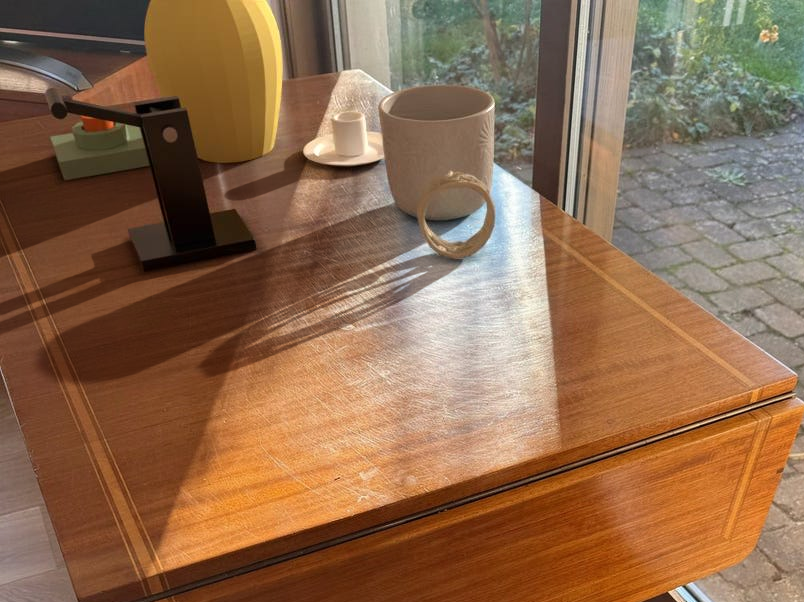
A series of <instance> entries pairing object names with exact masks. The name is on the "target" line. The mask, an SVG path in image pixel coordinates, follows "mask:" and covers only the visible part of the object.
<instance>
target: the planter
mask: <svg viewBox="0 0 804 602" xmlns="http://www.w3.org/2000/svg"><path fill="white" fill-rule="evenodd" d="M495 105H496V103H495V99H494V97H493V96H492V95H491V94H490V93H488V92H487V91H484V90H483V89H479V88H477V87H473V86H468V85H461V84H428V85H427V84H425V85H419V86H412V87H408V88H403V89H400V90H397V91H394V92H393V93H392V92H391V93H390V94H388V95H386V96H384V97H383V98H382V99H381V100H380V101H379V103H378V106H377V109H378V117H379V125H380V133H381V134H382V142H383V150H384V158H383V159H384V165H385V171H386V176H387V182H388V187H389V190H390V193H391V197H392V199H393V201H394V203H395V205H396V206H397V207H398V208H399V209H400V210H401V211H403V212H404V213H405V214H408V215H410V216H412V217H414V218H417V219H418V217H417V206H418V200H419V196H420V194H421V192H422V190H423V188H424V187H425V185H426V184H428V183H429V182H430V181H431V180H432V179H434V178H435V177H437V176H440V175H443V174H444V175H445V174H448V172H449V171H452V172H460V173H463V174H468V175H472V176H474V177H475V178H477V179H478V180H479V181H481V182H482V183H483V184H484V185H485V187H486V188H487V189H488V190H489V192H490V193H491V191H492V186H493V175H494V174H493V173H494V162H495V161H494V159H495ZM484 205H486V201H485V199H484V198H483V197H482V196H481V195H480V194H479V193H478V192H476V191H475V190H473V189H470V188H450V189H446V190H444V191H441V192H440V193H439V194H437V195H436V196H435V197H434V198H433V199H432V201H431V202H430V203H429V205H428V206H427V208H426V211H425V215H424V219H425V220H427V221H448V220H449V221H450V220H455V219H459V218H460V219H461V218H463V217H467V216H470V215H472V214H473V213H475V212H476V211H478V210H480V209H481V207H483V206H484Z"/></svg>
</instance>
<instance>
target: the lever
mask: <svg viewBox="0 0 804 602" xmlns="http://www.w3.org/2000/svg"><path fill="white" fill-rule="evenodd" d="M44 97H45V99H46V102H47V105H48V108H49V110H50V113H51V115H52V116H53V117H54V118H55V119H58V120H63V119H64V120H65V118H67V115H68V114H73V115H77V116H80V117H81V116H86V117H91V118H96V119H101V120H106V121H111V122H116V123H121V124H125V125H130V126H135V127H140V128H143V124H142V120H141V116H140V115H141V114H137V113H136V112H132V111H127V110H122V109H117V108H113V107H108V106H104V105H99V104H95V103H90V102H85V101H81V100H75V99H70V98H66V97H63V96H62V93H61V91H59V90H58V89H57V88H55V87H49V88H47V89H46V91H45V93H44ZM159 111H165V110H162V109H157V108H153V107H149V113H153V112H159Z"/></svg>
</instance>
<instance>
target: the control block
mask: <svg viewBox="0 0 804 602" xmlns="http://www.w3.org/2000/svg"><path fill="white" fill-rule="evenodd" d="M113 124H114V127H113V128H110V129H107V130H103V131H97V132H96V131H85V130H84V126H83V123H82V121H78V122H76V123H75V124H74V125H73V126H72V127H71V131H72V132H71V133H70V132H69V133H65V134H58V135H51V136H49V139H50V142H51V145H52V149H53V151H54V155H55V158H56V161H57V163H58V166H59V169H60V172H61V174H62V177H63V180H64V181H70V180H75V179H81V178H88V177H92V176H93V177H94V176H99V175H104V174H110V173H116V172H123V171H127V170H128V171H129V170H133V169H140V168H145V167H150V166H149V162H148V159H147V155H146V151H145V147H144V143H143V139H142V135H141V131H140V127H135V126H130V125H125V124H121V123H116V122H113Z"/></svg>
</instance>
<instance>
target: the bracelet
mask: <svg viewBox="0 0 804 602" xmlns="http://www.w3.org/2000/svg"><path fill="white" fill-rule="evenodd" d="M450 188H470V189H473V190H475V191H476V192H478V193H479V194H480V195H481V196H482V197H483V198H484V199H485V201H486V202H485V205H486V212H485V217H484V222H483V224H482V226H481V228H480V229H479V230H478V231H477V232H476V233H475V234H473V235H472V236H470V237H469V238H468V239H466V241H462V240H459V241H455V242H451V241H447V240H445V239H443V238H441V237H439V236H438V235H437V234H435V233H434V232H433V231H432V230H431V229H430V228H429V226H428V224H427V222H426V219H424V215H425V211H426V208H427V206H428V205H429V203H430V202H431V201H432V199H433V198H434V197H435V196H436V195H437V194H439V193H440V192H441V191H444V190H446V189H450ZM417 217H418V218H417ZM417 217H416V218H417V221H418V224H419V227H420V231H421V236H423V239H424V240H425V242H426V243H427V245H428V246H429V248H430V249H432V250H433V251H434V252H436V254H437V255H439V256H441V257H446V258H449V259H453V260H460V259H461V260H463V259H466V258H469V257H471V256H472V255H475V254H476V253H477V252H479V251H480V250H482V248H483V247H484V246H485V245H487V242H488V241H489V240H490V238H491V236H492V233H493V231H494V229H495V222H496V205H495V204H494V200H493V196H492V195H491V191H490V192H489V190H488V189H487V188H486V187H485V185H484V184H483V183H482V182H481V181H479V180H478V179H477V178H475V177H474V176H472V175H468V174H463V173H460V172H452V171H449V172H448V174H445V175H444V174H443V175H440V176H437V177H435V178H434V179H432V180H431V181H430V182H429V183H428V184H426V185H425V187H424V188H423V190H422V192H421V194H420V196H419V200H418V206H417Z"/></svg>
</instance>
